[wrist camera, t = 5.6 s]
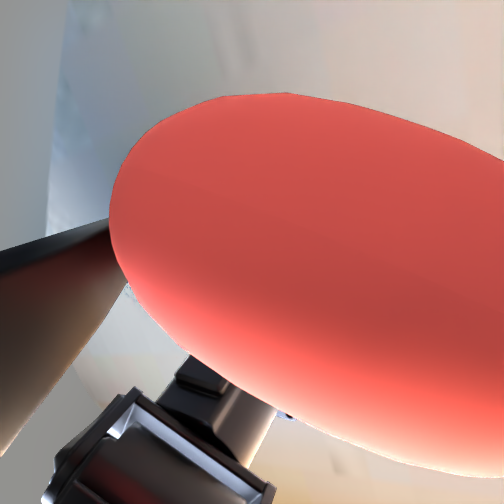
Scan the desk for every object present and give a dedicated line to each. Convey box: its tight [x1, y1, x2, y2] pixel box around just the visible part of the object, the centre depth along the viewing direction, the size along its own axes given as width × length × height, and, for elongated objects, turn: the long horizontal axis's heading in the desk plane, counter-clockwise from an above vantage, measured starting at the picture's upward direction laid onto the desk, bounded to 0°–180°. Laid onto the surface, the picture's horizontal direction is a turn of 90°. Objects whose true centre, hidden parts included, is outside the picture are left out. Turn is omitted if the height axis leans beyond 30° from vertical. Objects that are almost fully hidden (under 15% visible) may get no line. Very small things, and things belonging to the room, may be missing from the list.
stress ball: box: [109, 93, 504, 478], centre depth 8 cm, size 5×9×6 cm, turn 70°
